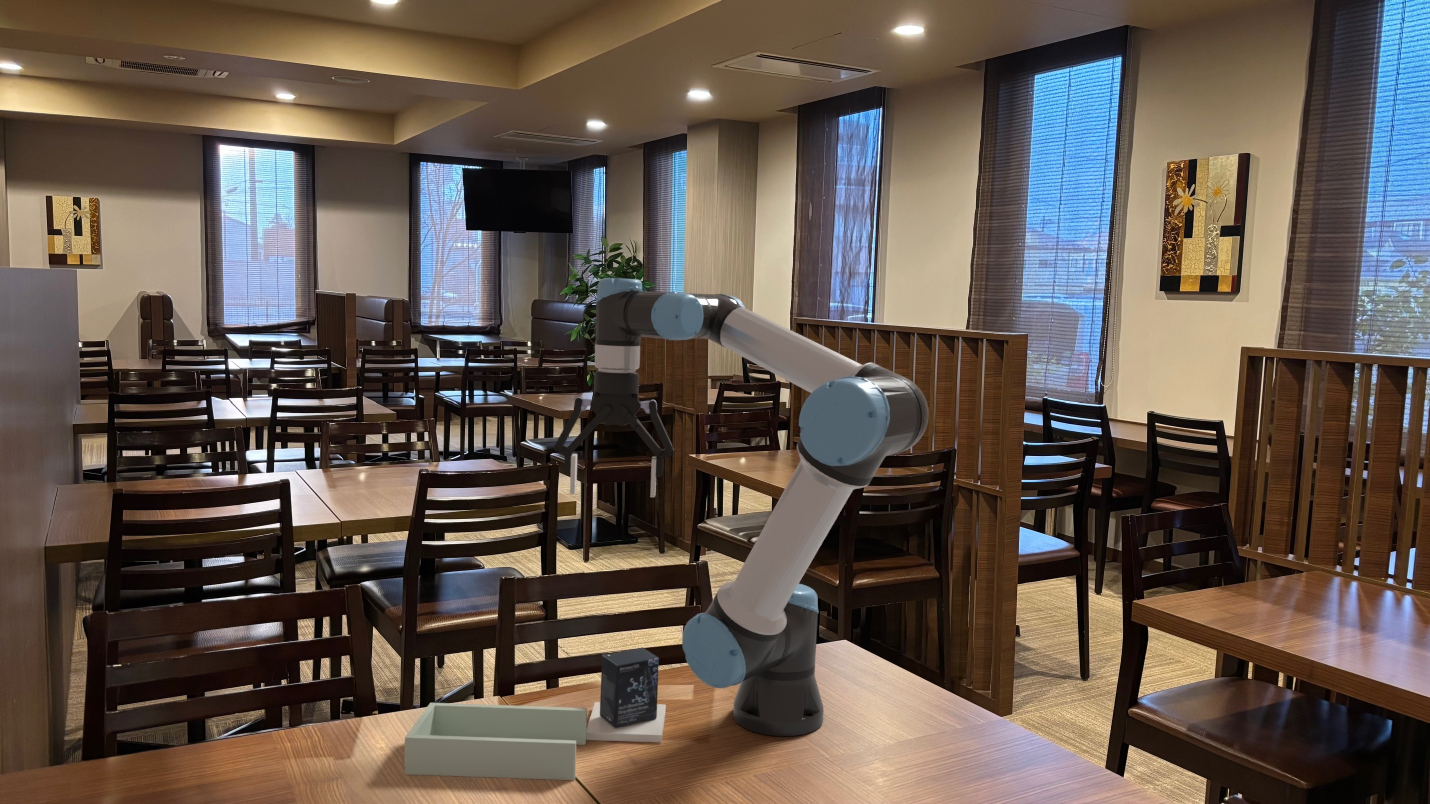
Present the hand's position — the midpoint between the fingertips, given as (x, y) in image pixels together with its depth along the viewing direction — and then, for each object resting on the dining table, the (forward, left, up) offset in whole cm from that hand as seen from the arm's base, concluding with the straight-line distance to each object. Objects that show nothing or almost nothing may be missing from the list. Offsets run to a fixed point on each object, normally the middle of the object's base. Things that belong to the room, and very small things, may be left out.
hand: (613, 494), depth 169 cm
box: (-5, +11, -35) cm, 37 cm away
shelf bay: (+14, +24, -36) cm, 45 cm away
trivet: (-4, +11, -36) cm, 38 cm away
